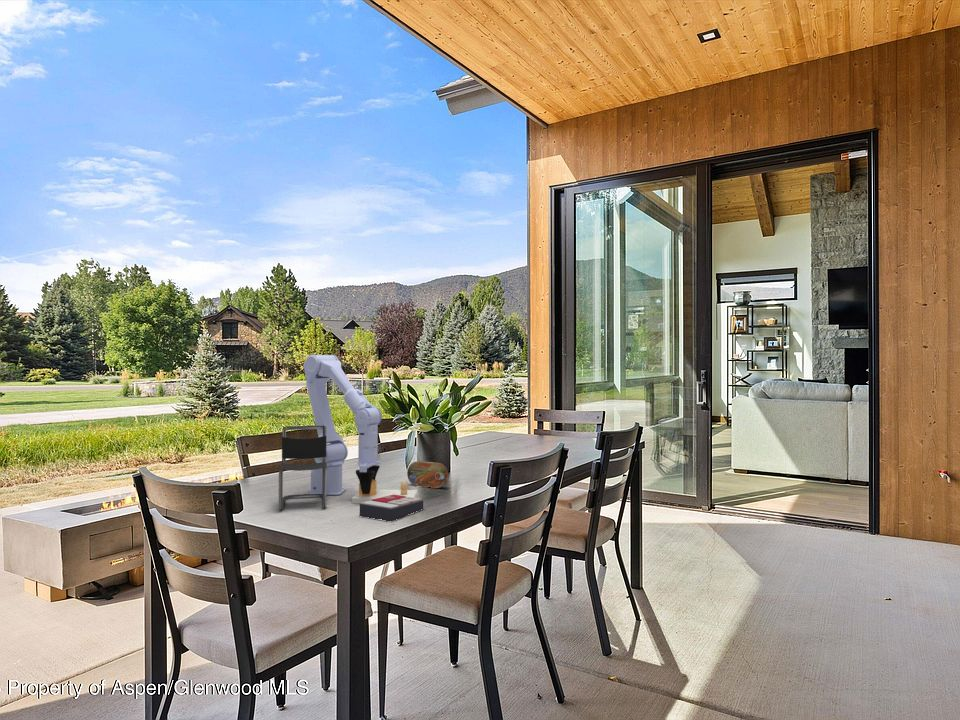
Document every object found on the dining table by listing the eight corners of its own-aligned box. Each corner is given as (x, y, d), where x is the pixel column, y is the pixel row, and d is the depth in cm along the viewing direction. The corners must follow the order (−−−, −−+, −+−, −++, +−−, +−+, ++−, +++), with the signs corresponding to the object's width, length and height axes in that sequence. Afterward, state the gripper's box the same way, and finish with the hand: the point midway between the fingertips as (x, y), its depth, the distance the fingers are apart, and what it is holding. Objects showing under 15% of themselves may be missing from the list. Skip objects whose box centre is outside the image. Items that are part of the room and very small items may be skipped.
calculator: (424, 497, 171) (391, 506, 158) (423, 513, 171) (390, 522, 158) (393, 493, 176) (359, 501, 163) (393, 508, 176) (358, 517, 163)
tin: (406, 485, 203) (406, 460, 203) (411, 483, 206) (412, 459, 206) (444, 490, 196) (444, 464, 196) (449, 488, 199) (449, 462, 199)
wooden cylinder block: (357, 495, 181) (357, 482, 181) (361, 492, 186) (361, 479, 186) (374, 495, 180) (374, 482, 180) (377, 492, 185) (377, 479, 185)
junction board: (351, 503, 177) (351, 486, 177) (360, 494, 189) (360, 478, 189) (412, 504, 177) (412, 487, 177) (417, 494, 189) (417, 478, 189)
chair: (326, 496, 187) (326, 425, 186) (326, 510, 170) (326, 432, 170) (282, 498, 183) (282, 426, 183) (278, 512, 167) (278, 433, 166)
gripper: (376, 450, 176) (376, 497, 176) (385, 443, 190) (385, 486, 190) (352, 450, 176) (352, 497, 176) (363, 443, 190) (362, 486, 190)
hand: (367, 491), depth 183 cm, fingers closed on wooden cylinder block, 5 cm apart
